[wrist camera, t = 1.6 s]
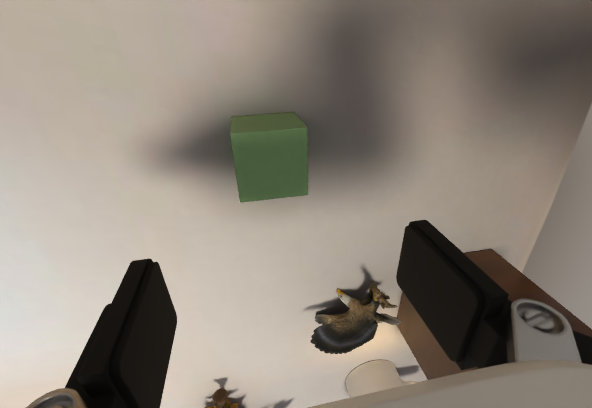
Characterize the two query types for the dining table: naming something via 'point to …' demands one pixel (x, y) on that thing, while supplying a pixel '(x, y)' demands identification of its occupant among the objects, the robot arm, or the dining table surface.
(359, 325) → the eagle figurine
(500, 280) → the walnut stand
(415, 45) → the dining table surface
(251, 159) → the green toy block
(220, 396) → the scarecrow
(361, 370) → the mug
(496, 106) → the dining table surface
